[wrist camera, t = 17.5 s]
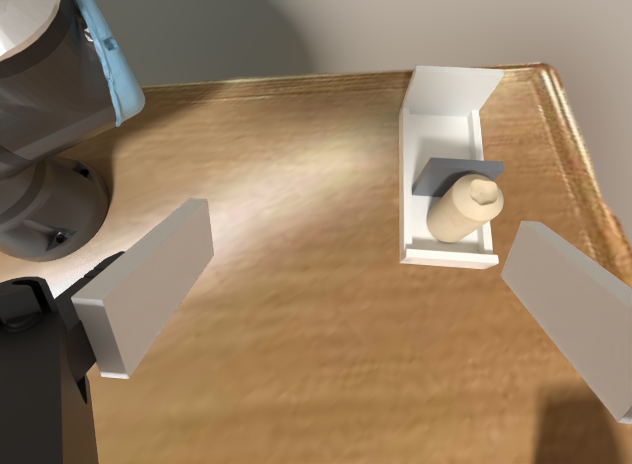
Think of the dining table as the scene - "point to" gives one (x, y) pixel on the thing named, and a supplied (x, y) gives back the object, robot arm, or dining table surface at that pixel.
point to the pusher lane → (441, 142)
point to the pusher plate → (451, 174)
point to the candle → (464, 208)
